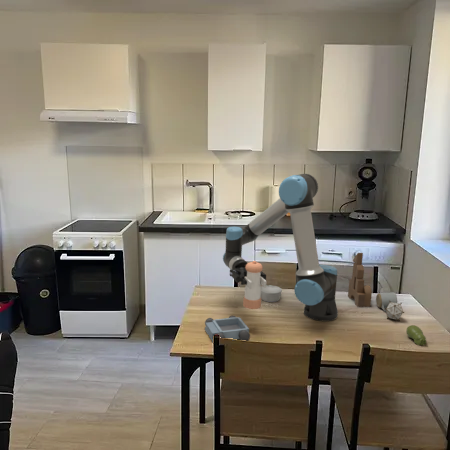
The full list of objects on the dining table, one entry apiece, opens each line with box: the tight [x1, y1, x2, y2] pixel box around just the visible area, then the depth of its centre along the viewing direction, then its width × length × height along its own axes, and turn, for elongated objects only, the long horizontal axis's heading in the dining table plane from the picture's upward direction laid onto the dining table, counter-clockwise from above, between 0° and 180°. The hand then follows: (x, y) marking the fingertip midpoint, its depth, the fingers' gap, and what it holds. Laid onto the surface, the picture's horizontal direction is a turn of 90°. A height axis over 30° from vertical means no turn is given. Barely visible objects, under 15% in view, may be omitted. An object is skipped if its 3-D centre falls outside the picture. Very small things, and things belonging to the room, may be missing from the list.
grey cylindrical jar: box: [375, 291, 398, 313], centre depth 205 cm, size 11×8×8 cm
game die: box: [385, 300, 406, 322], centre depth 193 cm, size 9×8×10 cm
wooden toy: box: [347, 252, 373, 308], centre depth 212 cm, size 16×7×25 cm, turn 4°
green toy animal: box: [406, 324, 427, 346], centre depth 174 cm, size 6×5×10 cm
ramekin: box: [261, 284, 283, 303], centre depth 214 cm, size 11×11×5 cm
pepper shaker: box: [242, 260, 264, 310], centre depth 176 cm, size 7×7×19 cm
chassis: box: [204, 315, 251, 343], centre depth 175 cm, size 15×16×4 cm
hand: (258, 285), depth 170 cm, fingers closed on pepper shaker, 5 cm apart
